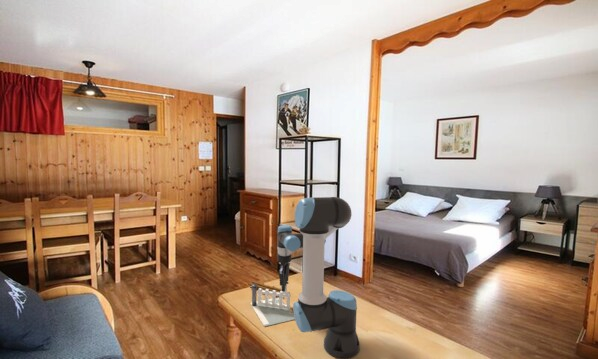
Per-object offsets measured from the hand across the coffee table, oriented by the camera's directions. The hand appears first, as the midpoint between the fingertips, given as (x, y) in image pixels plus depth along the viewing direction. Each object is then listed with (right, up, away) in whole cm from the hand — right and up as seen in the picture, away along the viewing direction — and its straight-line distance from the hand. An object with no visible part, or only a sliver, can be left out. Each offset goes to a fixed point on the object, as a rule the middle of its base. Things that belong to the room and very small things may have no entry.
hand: (283, 296), depth 163 cm
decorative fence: (-11, -3, +17) cm, 21 cm away
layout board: (-6, -5, -7) cm, 10 cm away
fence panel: (-5, -4, -4) cm, 8 cm away
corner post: (-16, -5, -1) cm, 17 cm away
